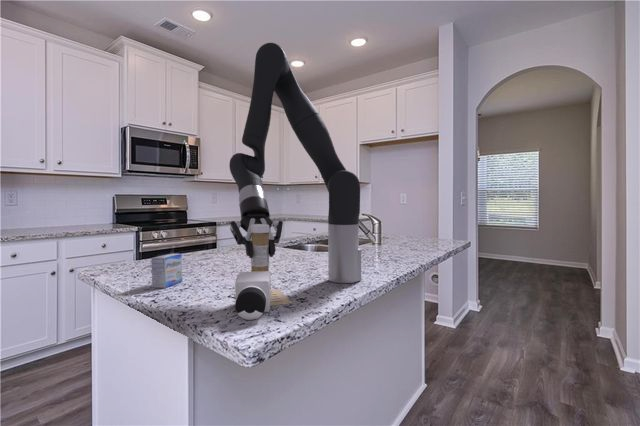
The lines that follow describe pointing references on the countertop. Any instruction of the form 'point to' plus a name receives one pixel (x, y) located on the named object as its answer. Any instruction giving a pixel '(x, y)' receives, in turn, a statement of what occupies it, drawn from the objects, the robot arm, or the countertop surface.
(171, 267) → the medicine box
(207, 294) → the countertop surface
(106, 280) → the countertop surface
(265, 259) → the sprinkles bottle
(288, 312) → the countertop surface
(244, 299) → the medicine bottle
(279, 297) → the letter
